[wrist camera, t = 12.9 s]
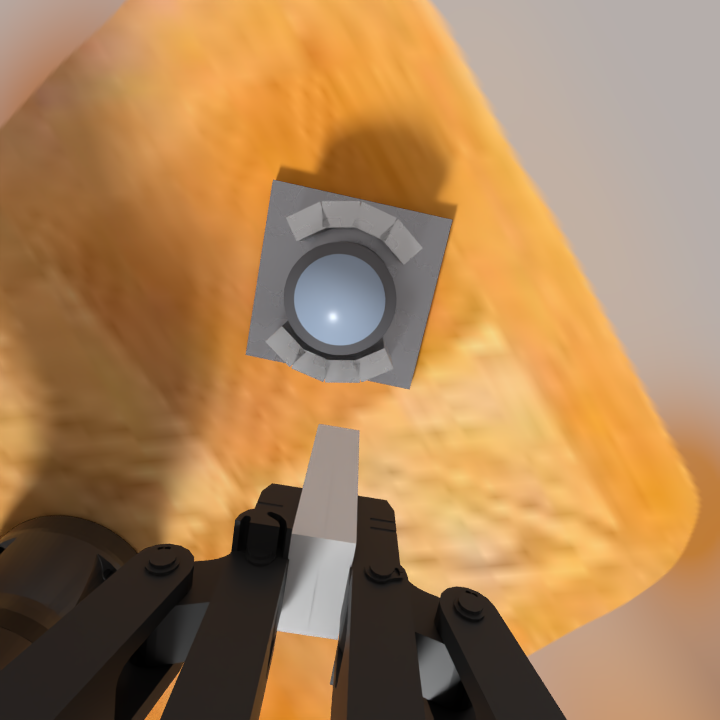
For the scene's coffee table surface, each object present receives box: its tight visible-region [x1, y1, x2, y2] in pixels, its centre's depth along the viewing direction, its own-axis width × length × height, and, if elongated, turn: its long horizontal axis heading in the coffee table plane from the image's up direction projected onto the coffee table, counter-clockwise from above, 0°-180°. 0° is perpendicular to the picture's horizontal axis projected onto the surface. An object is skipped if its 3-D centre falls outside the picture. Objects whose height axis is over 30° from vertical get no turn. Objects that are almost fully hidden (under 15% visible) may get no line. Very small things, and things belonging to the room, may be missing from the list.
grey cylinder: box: [284, 242, 397, 355], centre depth 32 cm, size 7×7×6 cm
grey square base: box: [246, 180, 452, 389], centre depth 33 cm, size 13×13×5 cm
